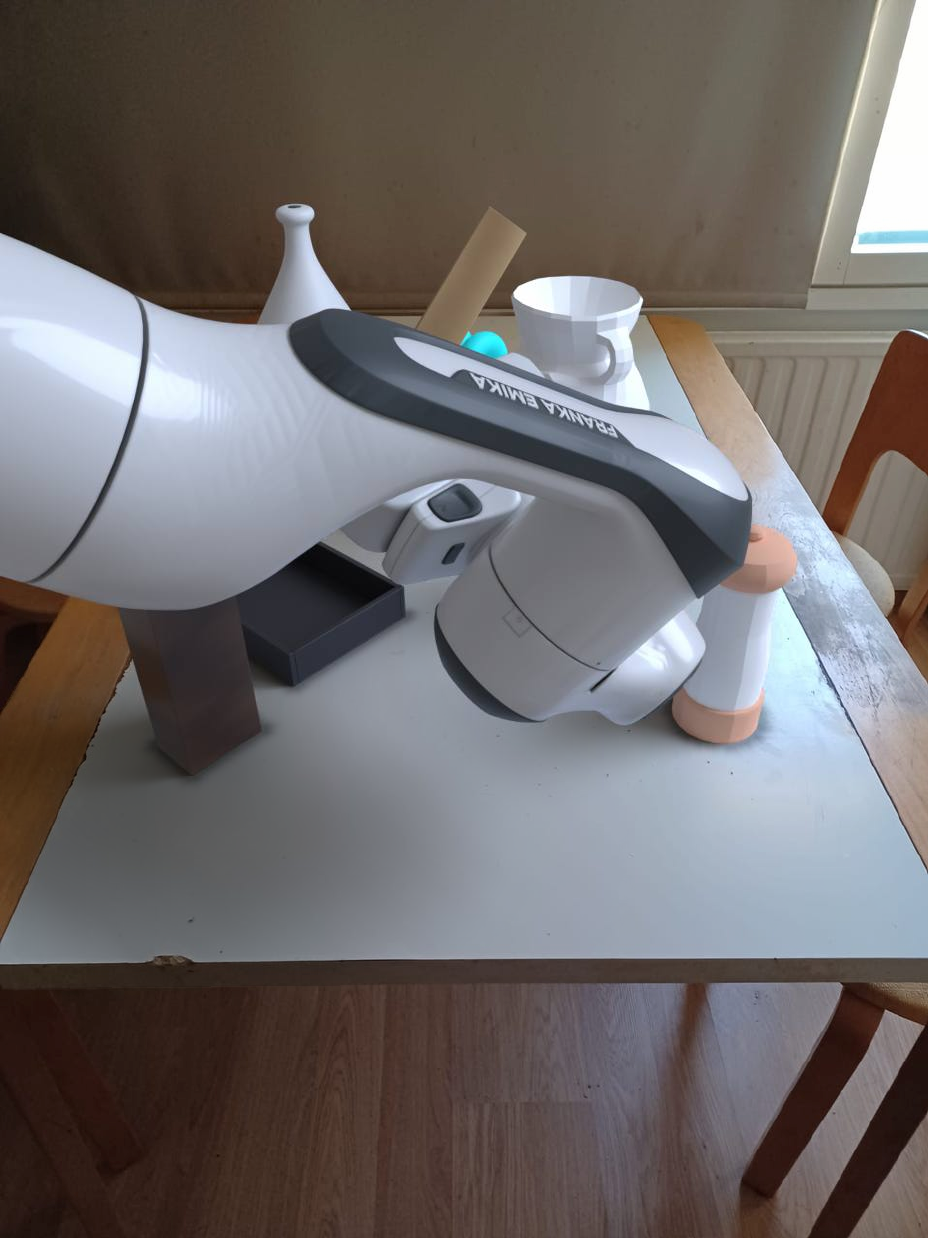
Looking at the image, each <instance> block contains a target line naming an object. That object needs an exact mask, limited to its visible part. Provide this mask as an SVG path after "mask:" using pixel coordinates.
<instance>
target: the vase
mask: <svg viewBox="0 0 928 1238" xmlns="http://www.w3.org/2000/svg"><path fill="white" fill-rule="evenodd" d="M275 218H276V220H277V221H278V222H279V223H281V225H282V226H283V230H284V253H283V257H282V258H283V259H282V262H281V266H280V269H279V272H278V274H277V277H276V279H275V281H274V285H273V286H272V288H271V290H270V294H269V296H268V298H267V300H266V302H265V305H264V307H263V309H262V311H261V314H260V316H259V318H258V320H257V323H256V325H264V324H283V323H294V322H295V321H297V320H299V319H302V318H305V317H307V316H310V315H312V314H315V313H317V312H320V311H322V310H325V309H330V308H336V309H344V310H350V311H352V310H351V308H350V307H349V305H348V303H346V301H345V299H344V298H343V296H342V295H341V294H340V292H339V291H338V290H337V288H336V286H335V285H334V283H333V282H332V281H331V279H330V278H329V276H328V274H327V272H326V271H325V270H324V268H323V266H322V265H321V263H320V262H319V260H318V258H317V256H316V253H315V250H314V248H313V244H312V239H311V233H310V224H311V222H312V221H313V219H314V218H315V211H314V209H313V208H312V207H311V206H309V205H308V204H302V203H291V204H284V205H281V206H280V207H278V208H277V209H276V210H275Z"/></svg>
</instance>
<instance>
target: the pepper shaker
mask: <svg viewBox="0 0 928 1238" xmlns="http://www.w3.org/2000/svg"><path fill="white" fill-rule="evenodd" d="M797 568H798V555H797V552H796V550H795V548H794V546H793V544H792V542H791V540H789V539H788V538H787V537H786V536H785V535H784V534H783V533H781V532H779V531H777V530H776V529H774V528H771V527H767V526H764V525H761V524H757V523H756V524H755V523H751V531H750V538H749V544H748V549H747V553H746V557H745V562H744V566H743V567H742V568H740V569H739V570H737V571H736V572H735V573H733V574H732V575H731V576H729V577H728V578H727V579H725V580H724V581H723V582H721V583H720V584H718V585H717V586H716V587H714V588H713V589H712V590H710V591H709V592H708V593H706V594H705V595H704V596H703V597H702V598H703V599H702V604H701V609H700V612H699V615H698V617H697V619H696V622H695V625H696V627H697V628H698V630H699V632H700V633H701V635H702V637H703V639H704V641H705V645H706V648H705V652H704V655H703V658H702V662H701V664H700V666H699V667H698V669H697V670H696V672H695V673H694V675H693V676H692V677H691V678H690V679H689V680H688V681H687V682H686V683H685V684H684V686H683V688H682V689H681V690H680V691H679V692H678V693H677V694H676V695H675V696H674V697H673V698H672V704H671V711H672V717H673V719H674V720H675V722H676V723H677V726H679V727H680V728H681V729H682V730H683V731H685V732H686V733H687V734H689V736H693V737H694V738H696V739H698V740H701V741H704V742H708V743H712V744H722V745H723V744H725V745H726V744H728V745H729V744H733V743H740V742H742V741H744V740H746V739H748V738H749V737H751V736H752V735H753V734H754V732H755V731H756V730H757V727H758V724H759V719H760V717H761V713H762V709H763V704H764V700H765V691H764V688H763V687H764V682H765V679H766V676H767V673H768V670H769V666H770V659H771V637H772V623H773V618H774V616H775V615H774V614H775V611H776V606H777V602H778V598H779V594H780V589H783V587H785V586H786V585H787V584H788V583H789V582H790V581H791V579H792V578H793V577H794V575H795V574H796V573H797V570H798V569H797Z"/></svg>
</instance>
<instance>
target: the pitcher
mask: <svg viewBox="0 0 928 1238" xmlns="http://www.w3.org/2000/svg"><path fill="white" fill-rule="evenodd" d="M510 300H511V304H512V309H513V313H514V316H515V320H516V323H517V329H518V333H519V337H520V347H519V348H518V349H517V350H516V352H514V353H517V354H519V355H521V356H524V357H526V358H528V359H529V360H530V361H531V362H532V363H533V364H534V365H535V366H536V367H537V368H538V370H539V371H540V372H541V373H542V374H543V376H544V377H545V378H546V379H548V380H550V381H553V382H555V383H558V384H561V385H563V386H566V387H568V388H571V389H573V390H576V391H578V392H581V393H583V394H586V395H589V396H591V397H594V398H597V399H599V400H602V401H605V402H608V403H612V404H615V405H620V406H625V407H631V408H637V409H643V410H648V411H651V408H650V405H651V404H650V400H649V397H648V394H647V391H646V388H645V384H644V381H643V378H642V375H641V374H640V372H639V370H638V368H637V366H636V363H635V360H634V350H633V349H634V348H633V344H632V341H631V338H630V334H631V332H632V330H633V329H634V327H635V325H636V323H637V322H638V318H639V316H640V312H641V309H642V306H643V302H644V299H643V297H642V295H641V294H640V293H639V291H638V290H637V289H636V288H635V287H633V286H632V285H630V284H627V283H624V282H622V281H618V280H614V279H610V278H603V277H598V276H597V277H596V276H584V275H583V276H582V275H579V276H578V275H566V276H565V275H564V276H563V275H561V276H548V277H547V276H546V277H541V278H536V279H533V280H529V281H527V282H525V283H523V284H519V285H518V286H517V287H516V288H515V290H514V291H513V293H512V294H511V295H510Z"/></svg>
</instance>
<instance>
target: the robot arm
mask: <svg viewBox="0 0 928 1238" xmlns="http://www.w3.org/2000/svg"><path fill="white" fill-rule="evenodd" d="M350 310H351V309H350ZM350 310H344V309H336V308H330V309H325V310H322V311H320V312H317V313H315V314H312V315H310V316H307V317H305V318H302V319H299V320H297V321H295V322H294V323H283V324H264V325H257V324H255V323H254V324H251V323H249V324H248V323H233V322H223V321H218V320H212V319H207V318H206V319H205V318H201V317H196V316H192V315H188V314H184V313H182V312H181V313H180V312H178V311H174V310H171V309H168V308H165V307H162V306H160V305H158V304H156V303H153V302H150V301H148V300H146V299H143V298H141V297H140V296H138V295H136V294H133V293H132V292H130V291H128V290H127V289H125V288H123V287H121V286H119V285H117V284H115V283H113V282H111V281H109V280H107V279H105V278H103V277H100V276H98V275H97V274H95V273H93V272H91V271H89V270H86V269H84V268H82V267H80V266H78V265H75V264H74V263H71V262H69V261H67V260H65V259H62V258H60V257H58V256H56V255H54V254H51V253H49V252H47V251H44V250H42V249H40V248H38V247H35V246H33V245H32V244H29V243H26V242H24V241H21V240H18V239H16V238H14V237H11V236H9V235H6V234H3V233H1V232H0V577H3V578H6V579H10V580H12V581H16V582H20V583H24V584H26V585H29V586H32V587H37V588H41V589H44V590H46V591H47V590H48V591H51V592H55V593H58V594H62V595H64V596H69V597H72V598H75V599H79V600H83V601H86V602H91V603H94V604H99V605H103V606H109V607H115V608H117V607H121V608H130V609H143V610H188V609H195V608H200V607H204V606H208V605H211V604H214V603H217V602H219V601H222V600H225V599H227V598H230V597H232V596H235V595H237V594H239V593H242V592H244V591H246V590H248V589H250V588H252V587H253V586H255V585H257V584H259V583H260V582H262V581H264V580H266V579H267V578H269V577H270V576H272V575H273V574H275V573H276V572H278V571H279V570H280V569H282V568H283V567H284V566H286V565H287V564H289V563H290V562H291V561H293V560H294V559H295V558H297V557H298V556H300V555H301V554H302V553H304V552H305V551H307V550H308V549H310V548H311V547H312V546H314V545H315V544H317V543H318V542H319V541H321V542H322V541H323V540H324V539H326V538H327V537H329V536H330V535H331V534H334V533H335V532H336V531H338V530H340V532H342V533H343V535H345V536H346V537H347V538H348V539H349V540H350V541H352V543H354V544H355V545H357V546H358V547H360V548H362V549H364V550H365V551H368V552H372V553H377V554H383V553H385V554H384V556H383V559H382V562H381V568H382V569H383V571H384V573H385V574H386V577H387V578H389V579H391V580H392V581H393V582H395V583H396V584H399V585H402V586H406V585H413V584H417V583H421V582H422V583H423V582H426V581H427V582H428V581H431V580H436V579H443V578H449V577H450V578H451V577H456V578H455V579H454V580H453V581H452V583H451V584H450V585H449V586H448V588H447V589H446V591H445V593H443V596H442V598H441V600H440V601H439V602H438V603H437V604H436V606H435V608H434V616H433V634H434V640H435V645H436V649H437V653H438V656H439V659H440V662H441V665H442V667H443V668H444V671H445V672H446V673H447V675H448V676H449V679H451V680H452V682H454V684H455V685H456V687H457V688H458V689H459V690H460V691H461V692H462V693H463V694H464V696H465V697H466V698H467V699H468V700H469V701H471V702H472V704H473V705H475V706H476V707H477V708H478V709H480V710H481V711H483V712H484V713H486V714H487V715H489V716H492V717H495V718H498V719H502V720H505V721H509V722H516V723H523V724H525V723H526V724H528V723H529V724H533V723H534V724H536V723H537V724H538V723H539V724H540V723H544V722H546V721H547V720H548V719H549V718H550V717H553V716H556V715H560V714H566V713H572V712H582V711H583V712H584V711H586V712H587V711H590V712H591V711H592V712H598V713H599V714H601V715H602V716H604V717H605V718H606V719H607V720H609V721H611V722H612V723H614V724H616V725H619V726H628V725H633V724H635V723H638V722H639V721H642V720H645V719H647V718H648V717H650V716H652V715H653V714H654V713H656V712H657V711H659V710H660V709H661V708H662V707H664V706H665V705H666V704H668V703H669V701H671V700H673V698H674V696H675V695H676V694H677V693H678V692H679V691H680V690H681V689H682V688H683V686H684V684H685V683H686V682H687V681H688V680H689V679H690V678H691V677H692V676H693V675H694V673H695V672H696V670H697V669H698V667H699V666H700V664H701V662H702V658H703V655H704V652H705V648H706V645H705V641H704V639H703V637H702V635H701V633H700V632H699V630H698V628H697V627H696V623H695V622H694V620H693V619H692V617H691V616H690V614H689V613H688V612H687V610H686V608H687V607H688V606H689V605H690V604H691V603H692V602H694V600H696V599H697V600H700V599H701V598H703V597H704V595H705V594H706V593H708V592H709V591H710V590H712V589H713V588H714V587H716V586H717V585H718V584H720V583H721V582H723V581H724V580H725V579H727V578H728V577H729V576H731V575H732V574H733V573H735V572H736V571H737V570H739V569H740V568H742V567H743V566H744V562H745V557H746V553H747V549H748V544H749V538H750V531H751V524H752V523H753V521H752V520H753V497H752V496H753V495H752V493H751V491H750V489H749V487H748V486H747V484H746V483H745V481H744V480H743V478H742V477H741V475H740V474H739V471H738V470H737V469H736V468H735V466H734V465H733V464H732V462H731V461H730V460H729V458H728V457H727V456H726V455H725V454H724V453H723V452H722V451H721V450H720V449H719V448H718V447H717V445H715V444H713V443H712V442H711V441H710V440H709V439H708V438H707V437H705V436H704V435H702V434H701V433H699V432H698V431H696V430H695V429H693V428H691V427H689V426H687V425H685V424H683V423H681V422H679V421H676V420H673V419H672V418H670V417H668V416H667V415H663V414H661V413H658V412H655V411H652V410H650V411H648V410H643V409H637V408H631V407H625V406H620V405H615V404H612V403H608V402H605V401H602V400H599V399H597V398H594V397H591V396H589V395H586V394H583V393H581V392H578V391H576V390H573V389H571V388H568V387H566V386H563V385H561V384H558V383H555V382H553V381H550V380H548V379H546V378H545V377H544V376H543V374H542V373H541V372H540V371H539V370H538V368H537V367H536V366H535V365H534V364H533V363H532V362H531V361H530V360H529V359H528V358H526V357H524V356H521V355H519V354H517V353H515V352H512V351H511V352H507V353H508V354H505V355H503V356H501V357H498V358H496V359H494V358H492V357H489V356H487V355H484V354H481V353H479V352H476V351H474V350H471V349H468V348H466V347H463V346H460V345H458V344H455V343H452V342H450V341H447V340H444V339H442V338H439V337H436V336H433V335H431V334H428V333H425V332H422V331H420V330H417V329H415V327H411V326H408V325H405V324H403V323H399V322H396V321H392V320H389V319H386V318H383V317H378V316H375V315H371V314H368V313H363V312H360V311H354V310H351V311H350Z"/></svg>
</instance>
